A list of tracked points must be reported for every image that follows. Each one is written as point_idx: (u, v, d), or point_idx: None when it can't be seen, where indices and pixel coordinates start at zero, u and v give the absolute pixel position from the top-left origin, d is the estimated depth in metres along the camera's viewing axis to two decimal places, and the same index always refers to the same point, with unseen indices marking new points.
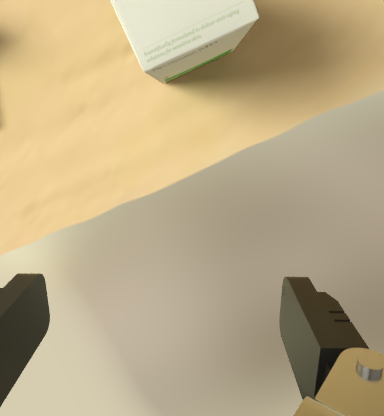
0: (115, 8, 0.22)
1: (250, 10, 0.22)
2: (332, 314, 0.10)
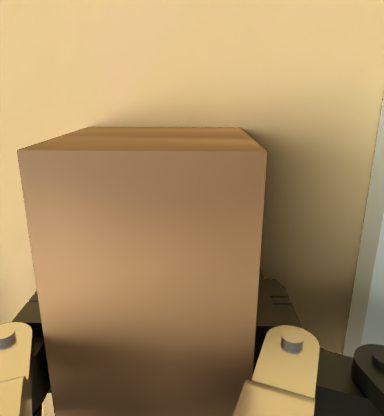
0: None
1: None
2: (276, 298, 0.11)
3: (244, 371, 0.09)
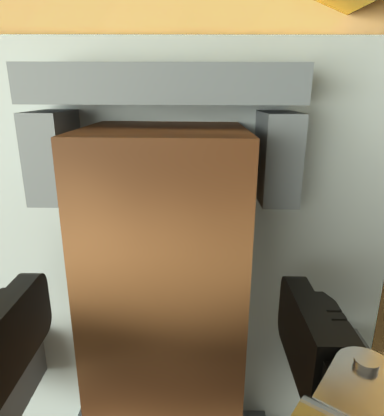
0: None
1: None
2: (329, 313, 0.10)
3: (240, 329, 0.10)
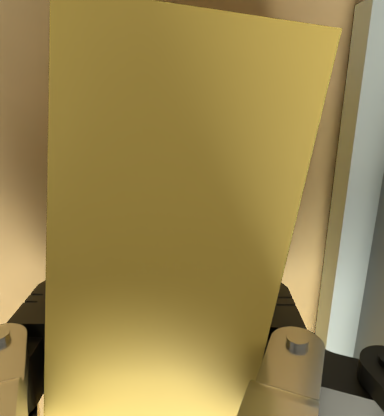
0: None
1: None
2: (280, 299, 0.11)
3: None
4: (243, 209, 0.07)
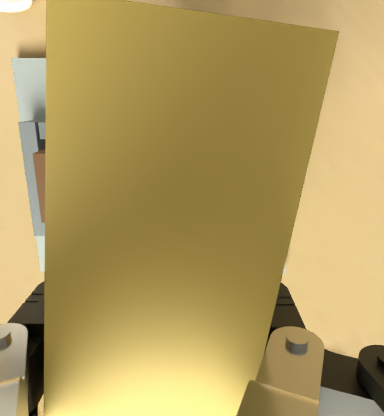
0: None
1: None
2: (279, 299, 0.11)
3: None
4: (241, 212, 0.07)
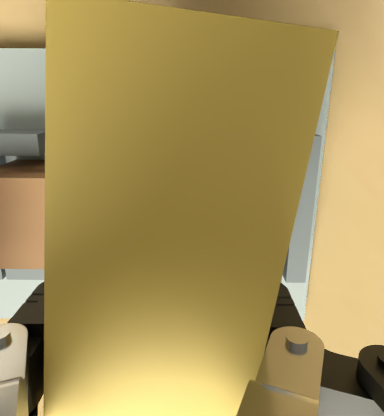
0: None
1: None
2: (279, 299, 0.11)
3: None
4: (241, 212, 0.07)
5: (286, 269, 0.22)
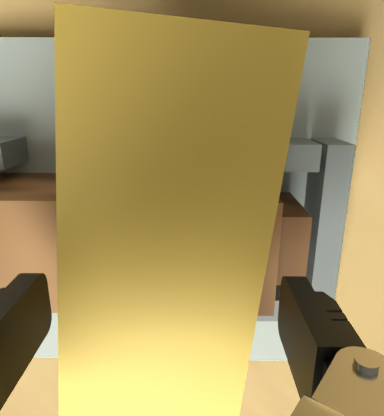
0: None
1: None
2: (329, 313, 0.10)
3: (46, 205, 0.14)
4: (230, 194, 0.08)
5: None
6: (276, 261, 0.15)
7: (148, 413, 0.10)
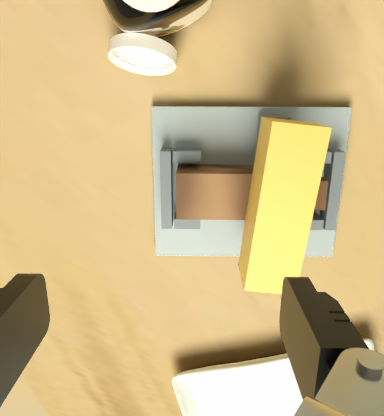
0: None
1: None
2: (332, 314, 0.10)
3: (228, 175, 0.37)
4: (310, 166, 0.31)
5: (325, 223, 0.42)
6: None
7: (280, 235, 0.33)
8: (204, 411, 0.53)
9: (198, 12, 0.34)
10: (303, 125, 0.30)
